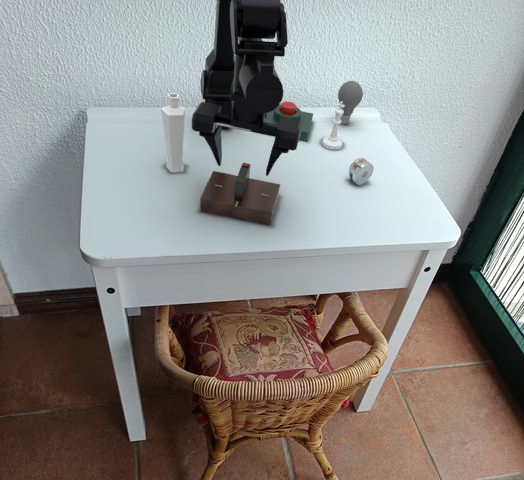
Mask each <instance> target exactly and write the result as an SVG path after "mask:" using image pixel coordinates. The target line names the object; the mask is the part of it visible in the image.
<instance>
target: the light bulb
mask: <svg viewBox="0 0 524 480" xmlns="http://www.w3.org/2000/svg"><path fill="white" fill-rule="evenodd" d="M363 96H364V91H363V88H362V85H361V84H360V83H359V82H357V81H355V80H347V81H345V82H344V83H343V84H342V85H341V86H340V87H339V89H338V92H337V100H338V104H340V102H342V105H345V106H344V108H342V107H341V109H342V110H343V111H344V113H343V115H342V116H341V118H340V120H341V121H342V123H341V124H343V125H345V124H349V123H350V119H351V116H352V114H354V110H356V108H357V107H358V105H360V104H361V102H362V100H363Z"/></svg>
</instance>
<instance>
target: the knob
mask: <svg viewBox="0 0 524 480" xmlns="http://www.w3.org/2000/svg"><path fill="white" fill-rule="evenodd" d="M250 173H251V164H250V163H247V162H245V161H244V162H242V163H241V165H240V168H239V171H238V173H237V175H236V176H237V178H236V181H235V193H234V199H236V200H241V201H242V200H243V197H244V194H245V191H246V189H247V186H248V183H249V178H250V176H251V175H250Z"/></svg>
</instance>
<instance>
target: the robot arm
mask: <svg viewBox="0 0 524 480" xmlns="http://www.w3.org/2000/svg"><path fill="white" fill-rule="evenodd" d="M281 1H282V0H216V8H215V20H214V21H215V22H214V37H213V38H214V39H213V49H212V50H211V51H210V53H209V54H208V55H207V56H206V57H205V65H204V69H202V71H201V76H200V79H199V80H200V82H199V83H200V94H201V97H202V100H204V101H201V102H200V103H199V104H198V105H197V107H196V108H195V110H194V112H193V113H192V115H191V130H192V131H194V132H198V135H199V137H202V138H204V139H205V141H206V143H207V145H208V147H209V149H210V150H211V153H212V155H213V157H214V159H215V162H216V164H217V167H221V166H222V162H223V161H222V159H223V148H222V146H223V145H222V129H223V130H230V129H235V130H240V131H245V132H249V133H254V134H259V135H265V136H269V137H274V141H273V143H272V147H271V150H270V155H269V157H268V161H267V165H266V169H265V176H266V177H268V176H269V175H270V173H271V171H272V169H273V167H274V165H275V164H276V162H277V161H278V159H279V158H280V156H281V155H282V154H288V153H289V152H290V151H296V150H297V148H298V145H299V141H300V140H299V138H300V133H301V127H302V125H301V123H300V121H296V120H291V119H286V118H280V121H279V124H278V125H276V124H271V123H266V122H264V118H266V117H267V113H269V112H271V111H273V110H274V109H276V108H277V107H278V105H280V104H282V102H283V101H282V100H283V97H284V86H283V84H282V81H281V79H280V76H279V74H278V72H277V70H276V68H275V57H280V58H281V57H285V55H286V48H287V46H288V44H289V42H288V41H289V39H288V23H287V12H286V11H285V4H284V3H283V2H281ZM275 38H276V41H267V40H275ZM265 40H266V41H265Z"/></svg>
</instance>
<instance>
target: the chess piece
mask: <svg viewBox="0 0 524 480" xmlns="http://www.w3.org/2000/svg"><path fill="white" fill-rule="evenodd" d="M344 106H345V105H342V102H340V103H337V104H336V107H338V108H336V109H335V110H334V114H335V115H334V116H335V118H333V119H332V123H333V127H332V129H331V132H330V135H326V136H324V137H323V138H322V140H321V145H322V146H323V147H324V148H327V149H329V150H339V149H342V147H343V141H342V140H341V139H340V138H339V137H338V133H339V125H341V124H343V123H342V121H341V120H340V118H341V116H342V115H343V113H344V111H343V110H342V109H341V107H342V108H344Z"/></svg>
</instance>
